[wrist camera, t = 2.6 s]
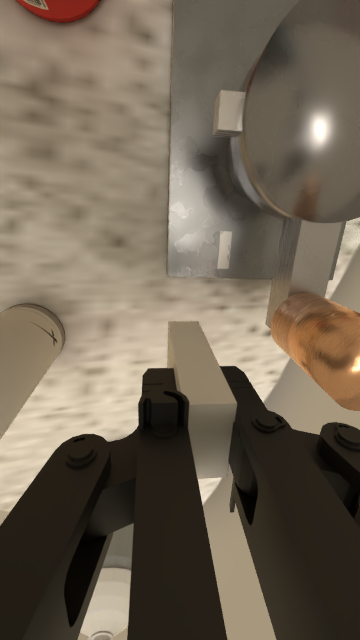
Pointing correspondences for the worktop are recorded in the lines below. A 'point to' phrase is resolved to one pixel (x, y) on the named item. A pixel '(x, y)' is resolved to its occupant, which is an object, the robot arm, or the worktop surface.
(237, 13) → the mount plate
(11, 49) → the worktop surface
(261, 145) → the dark dome with handle
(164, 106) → the worktop surface
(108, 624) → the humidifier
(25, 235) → the worktop surface
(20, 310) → the travel mug
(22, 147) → the worktop surface
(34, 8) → the canned food
